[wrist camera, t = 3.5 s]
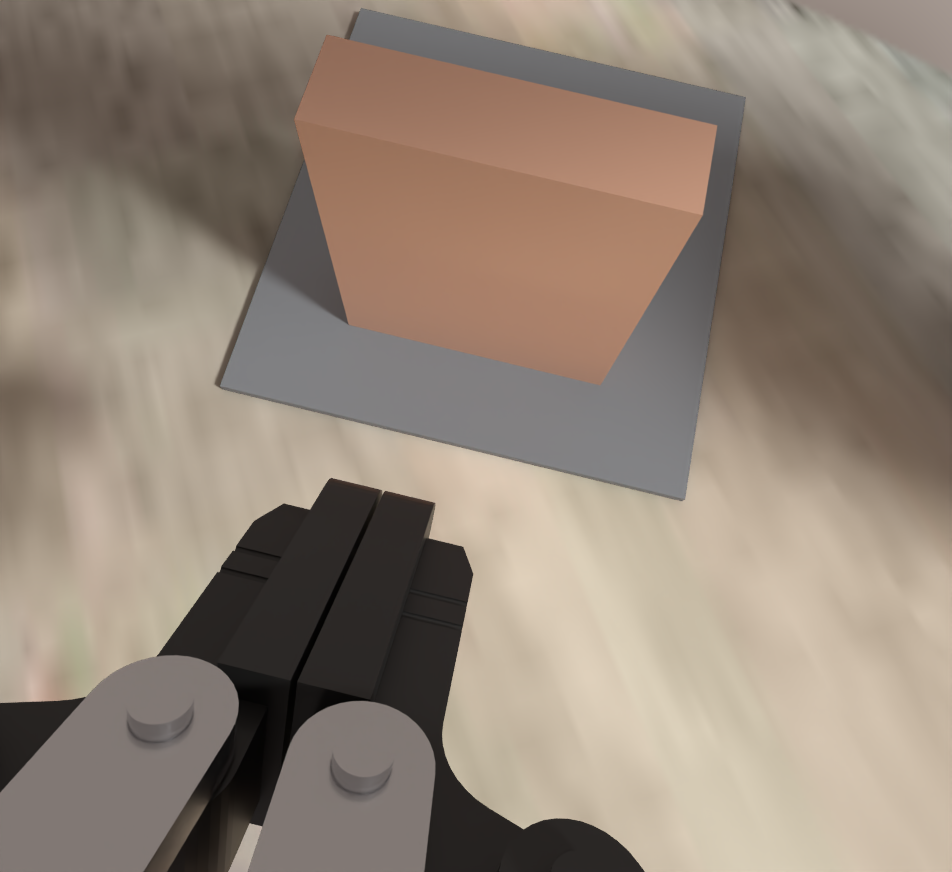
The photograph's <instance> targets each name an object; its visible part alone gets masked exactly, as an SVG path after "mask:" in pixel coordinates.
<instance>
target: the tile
mask: <svg viewBox="0 0 952 872" xmlns="http://www.w3.org/2000/svg"><path fill="white" fill-rule="evenodd" d="M294 121H295V125H296V128H297V132H298V136H299V140H300V143H301V147H302V151H303V155H304V158H305V162H306V166H307V170H308V173H309V177H310V181H311V185H312V188H313V192H314V196H315V200H316V203H317V207H318V211H319V215H320V219H321V222H322V226H323V230H324V234H325V237H326V241H327V245H328V249H329V252H330V256H331V260H332V264H333V267H334V271H335V275H336V279H337V282H338V286H339V290H340V294H341V298H342V301H343V305H344V309H345V313H346V316H347V320H348V324H349V325H351V326H356V327H360V328H364V329H368V330H372V331H376V332H380V333H385V334H389V335H393V336H397V337H401V338H405V339H410V340H414V341H418V342H422V343H426V344H430V345H434V346H439V347H443V348H447V349H451V350H455V351H459V352H464V353H468V354H472V355H476V356H480V357H484V358H488V359H493V360H497V361H501V362H505V363H509V364H513V365H517V366H522V367H526V368H530V369H534V370H538V371H542V372H547V373H551V374H555V375H559V376H563V377H567V378H571V379H576V380H580V381H584V382H588V383H592V384H596V385H601V383H602V382H603V380H604V378H605V377H606V375H607V373H608V372H609V370H610V369H611V367H612V365H613V364H614V362H615V360H616V359H617V357H618V355H619V354H620V352H621V350H622V349H623V347H624V345H625V344H626V342H627V340H628V339H629V337H630V335H631V334H632V332H633V330H634V329H635V327H636V325H637V324H638V322H639V320H640V319H641V317H642V315H643V314H644V312H645V310H646V309H647V307H648V305H649V304H650V302H651V300H652V299H653V297H654V295H655V294H656V292H657V290H658V289H659V287H660V285H661V284H662V282H663V280H664V279H665V277H666V275H667V274H668V272H669V270H670V269H671V267H672V265H673V264H674V262H675V261H676V259H677V257H678V256H679V254H680V252H681V251H682V249H683V247H684V246H685V244H686V242H687V241H688V239H689V237H690V236H691V234H692V232H693V231H694V229H695V227H696V226H697V224H698V222H699V221H700V219H701V217H702V216H703V211H704V204H705V198H706V192H707V186H708V180H709V174H710V168H711V162H712V156H713V150H714V143H715V137H716V131H717V125H713V124H709V123H705V122H700V121H696V120H692V119H687V118H683V117H679V116H675V115H670V114H666V113H662V112H657V111H653V110H649V109H644V108H640V107H636V106H632V105H627V104H623V103H619V102H614V101H610V100H606V99H601V98H597V97H593V96H589V95H584V94H580V93H576V92H571V91H567V90H563V89H558V88H554V87H550V86H546V85H541V84H537V83H533V82H528V81H524V80H520V79H515V78H511V77H507V76H503V75H498V74H494V73H490V72H485V71H481V70H477V69H472V68H468V67H464V66H460V65H455V64H451V63H447V62H442V61H438V60H434V59H429V58H425V57H421V56H417V55H412V54H408V53H404V52H399V51H395V50H391V49H386V48H382V47H378V46H374V45H369V44H365V43H361V42H356V41H352V40H348V39H343V38H339V37H335V36H331V35H326V38H325V41H324V43H323V46H322V48H321V51H320V53H319V56H318V59H317V61H316V64H315V66H314V69H313V72H312V74H311V77H310V79H309V82H308V84H307V87H306V90H305V92H304V95H303V97H302V100H301V102H300V105H299V108H298V110H297V113H296V115H295V118H294Z"/></svg>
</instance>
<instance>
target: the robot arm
mask: <svg viewBox="0 0 952 872" xmlns="http://www.w3.org/2000/svg"><path fill="white" fill-rule="evenodd" d="M434 510H435V503H433V502H429V501H425V500H421V499H417V498H413V497H408V496H404V495H400V494H396V493H392V492H388V491H385V492H384V493H383V495H382V490H379V489H374V488H370V487H366V486H362V485H358V484H354V483H350V482H346V481H341V480H337V479H333V478H331V479H329V480H328V482H327V483H326V485H325V486H324V488H323V490H322V491H321V493H320V494H319V496H318V498H317V499H316V501H315V503H314V504H313V506H312V508H311V509H310V510H308V509H304V508H300V507H296V506H292V505H287V504H282V505H281V506H279V507H277V508H276V509H274V510H272V511H270V512H269V513H267V514H265V515H264V516H262V517H260V518H259V519H257V520H255V521H254V522H253V523H252V525H251V526H250V527H249V529H248V530H247V532H246V533H245V534H244V536H243V537H242V539H241V540H240V541H239V543H238V544H237V546H236V549H235V551H232V553H231V554H230V555H229V557H228V558H227V560H226V561H225V562H224V564H223V565H222V566H221V570H220V572H217V573H216V575H215V576H214V578H213V579H212V580H211V582H210V583H209V585H208V586H207V587H206V589H205V590H204V592H203V593H202V594H201V596H200V597H199V599H198V600H197V601H196V603H195V604H194V605H193V607H192V608H191V610H190V611H189V612H188V614H187V615H186V617H185V618H184V619H183V621H182V622H181V624H180V625H179V626H178V628H177V629H176V631H175V632H174V633H173V635H172V636H171V637H170V639H169V640H168V642H167V643H166V644H165V646H164V647H163V649H162V650H161V651H160V653H159V654H158V655H157V657H152V658H148V659H144V660H140V661H137V662H134V663H132V664H129V665H127V666H125V667H123V668H121V669H119V670H117V671H115V672H114V673H112V674H111V675H109V676H108V677H107V678H105V679H104V680H102V681H101V682H100V683H99V684H98V685H97V686H96V687H95V688H94V689H93V690H92V691H91V692H90V693H89V695H88V696H87V697H83V698H78V699H73V700H63V701H45V702H17V703H0V872H228V871H229V869H230V867H231V864H232V862H233V860H234V858H235V855H236V853H237V851H238V848H239V846H240V844H241V841H242V839H243V837H244V834H245V832H246V830H247V828H248V825H249V823H251V824H255V825H259V826H263V827H262V830H261V833H260V836H259V839H258V842H257V845H256V848H255V851H254V854H253V857H252V860H251V863H250V866H249V869H248V872H644V870H643V869H642V867H641V866H640V865H639V863H638V862H637V861H636V860H635V858H634V857H633V856H632V855H631V854H630V852H629V851H628V850H627V849H626V848H624V847H623V846H622V845H621V844H620V843H619V842H618V841H617V840H615V839H614V838H613V837H611V836H610V835H609V834H607V833H606V832H604V831H602V830H600V829H598V828H596V827H594V826H592V825H589V824H587V823H584V822H581V821H576V820H571V819H549V820H543V821H540V822H538V823H535V824H532V825H531V826H529V827H527V828H526V829H524V830H523V829H522V828H520V827H519V826H517V825H515V824H514V823H512V822H510V821H509V820H507V819H505V818H504V817H502V816H501V815H499V814H497V813H496V812H494V811H492V810H491V809H489V808H488V807H486V806H485V805H483V804H482V803H481V802H479V801H478V800H476V799H475V798H474V797H473V796H472V795H471V794H470V793H469V792H468V791H467V790H466V789H465V788H464V787H463V786H462V785H461V783H460V782H459V781H458V780H457V778H456V777H455V775H454V773H453V772H452V770H451V768H450V766H449V764H448V761H447V759H446V757H445V752H444V748H443V742H442V729H443V721H444V716H445V711H446V706H447V701H448V696H449V692H450V687H451V682H452V677H453V672H454V667H455V662H456V657H457V652H458V647H459V642H460V637H461V632H462V627H463V622H464V617H465V612H466V607H467V602H468V597H469V592H470V588H471V583H472V578H473V572H472V570H471V567H470V564H469V561H468V559H467V556H466V553H465V551H464V548H463V547H461V546H457V545H453V544H449V543H445V542H441V541H437V540H433V539H429V534H430V530H431V525H432V520H433V515H434Z"/></svg>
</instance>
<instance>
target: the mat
mask: <svg viewBox="0 0 952 872" xmlns="http://www.w3.org/2000/svg"><path fill="white" fill-rule="evenodd" d="M349 40H352V41H356V42H361V43H365V44H369V45H374V46H378V47H382V48H386V49H391V50H395V51H399V52H404V53H408V54H412V55H417V56H421V57H425V58H429V59H434V60H438V61H442V62H447V63H451V64H455V65H460V66H464V67H468V68H472V69H477V70H481V71H485V72H490V73H494V74H498V75H503V76H507V77H511V78H515V79H520V80H524V81H528V82H533V83H537V84H541V85H546V86H550V87H554V88H558V89H563V90H567V91H571V92H576V93H580V94H584V95H589V96H593V97H597V98H601V99H606V100H610V101H614V102H619V103H623V104H627V105H632V106H636V107H640V108H644V109H649V110H653V111H657V112H662V113H666V114H670V115H675V116H679V117H683V118H687V119H692V120H696V121H700V122H705V123H709V124H713V125H717V131H716V137H715V143H714V150H713V156H712V162H711V168H710V174H709V180H708V186H707V192H706V198H705V204H704V211H703V216H702V217H701V219H700V221H699V222H698V224H697V226H696V227H695V229H694V231H693V232H692V234H691V236H690V237H689V239H688V241H687V242H686V244H685V246H684V247H683V249H682V251H681V252H680V254H679V256H678V257H677V259H676V261H675V262H674V264H673V265H672V267H671V269H670V270H669V272H668V274H667V275H666V277H665V279H664V280H663V282H662V284H661V285H660V287H659V289H658V290H657V292H656V294H655V295H654V297H653V299H652V300H651V302H650V304H649V305H648V307H647V309H646V310H645V312H644V314H643V315H642V317H641V319H640V320H639V322H638V324H637V325H636V327H635V329H634V330H633V332H632V334H631V335H630V337H629V339H628V340H627V342H626V344H625V345H624V347H623V349H622V350H621V352H620V354H619V355H618V357H617V359H616V360H615V362H614V364H613V365H612V367H611V369H610V370H609V372H608V373H607V375H606V377H605V378H604V380H603V382H602V383H601V385H596V384H592V383H588V382H584V381H580V380H576V379H571V378H567V377H563V376H559V375H555V374H551V373H547V372H542V371H538V370H534V369H530V368H526V367H522V366H517V365H513V364H509V363H505V362H501V361H497V360H493V359H488V358H484V357H480V356H476V355H472V354H468V353H464V352H459V351H455V350H451V349H447V348H443V347H439V346H434V345H430V344H426V343H422V342H418V341H414V340H410V339H405V338H401V337H397V336H393V335H389V334H385V333H380V332H376V331H372V330H368V329H364V328H360V327H356V326H351V325H349V324H348V320H347V316H346V313H345V309H344V305H343V301H342V298H341V294H340V290H339V286H338V282H337V279H336V275H335V271H334V267H333V264H332V260H331V256H330V252H329V249H328V245H327V241H326V237H325V234H324V230H323V226H322V222H321V219H320V215H319V211H318V207H317V203H316V200H315V196H314V192H313V188H312V185H311V181H310V177H309V173H308V170H307V166H306V162H305V159H304V162H303V165H302V167H301V170H300V173H299V176H298V178H297V181H296V184H295V186H294V189H293V192H292V194H291V197H290V200H289V202H288V205H287V208H286V210H285V213H284V216H283V218H282V221H281V224H280V226H279V229H278V232H277V234H276V237H275V240H274V242H273V245H272V248H271V250H270V253H269V256H268V258H267V261H266V264H265V266H264V269H263V272H262V275H261V277H260V280H259V283H258V285H257V288H256V291H255V293H254V296H253V299H252V301H251V304H250V307H249V309H248V312H247V315H246V317H245V320H244V323H243V325H242V328H241V331H240V333H239V336H238V339H237V341H236V344H235V347H234V349H233V352H232V355H231V357H230V360H229V363H228V365H227V368H226V371H225V373H224V376H223V379H222V382H221V384H220V387H221V388H222V389H224V390H228V391H232V392H236V393H240V394H244V395H248V396H252V397H256V398H261V399H265V400H269V401H273V402H277V403H281V404H285V405H289V406H293V407H298V408H302V409H306V410H310V411H314V412H318V413H322V414H326V415H330V416H335V417H339V418H343V419H347V420H351V421H355V422H359V423H363V424H367V425H371V426H376V427H380V428H384V429H388V430H392V431H396V432H400V433H404V434H408V435H413V436H417V437H421V438H425V439H429V440H433V441H437V442H441V443H445V444H449V445H454V446H458V447H462V448H466V449H470V450H474V451H478V452H482V453H486V454H491V455H495V456H499V457H503V458H507V459H511V460H515V461H519V462H523V463H528V464H532V465H536V466H540V467H544V468H548V469H552V470H556V471H560V472H564V473H569V474H573V475H577V476H581V477H585V478H589V479H593V480H597V481H601V482H606V483H610V484H614V485H618V486H622V487H626V488H630V489H634V490H638V491H642V492H647V493H651V494H655V495H659V496H663V497H667V498H671V499H675V500H679V501H683V500H685V496H686V489H687V483H688V476H689V469H690V463H691V456H692V450H693V443H694V436H695V430H696V423H697V416H698V410H699V403H700V397H701V390H702V383H703V377H704V370H705V363H706V357H707V350H708V344H709V337H710V330H711V324H712V317H713V311H714V304H715V297H716V291H717V284H718V277H719V271H720V264H721V258H722V251H723V244H724V238H725V231H726V225H727V218H728V211H729V205H730V198H731V191H732V185H733V178H734V172H735V165H736V158H737V152H738V145H739V138H740V132H741V125H742V119H743V112H744V105H745V99H746V97H743V96H738V95H734V94H730V93H725V92H721V91H717V90H712V89H708V88H704V87H699V86H695V85H691V84H686V83H682V82H678V81H673V80H669V79H665V78H660V77H656V76H652V75H647V74H643V73H639V72H635V71H630V70H626V69H622V68H617V67H613V66H609V65H604V64H600V63H596V62H591V61H587V60H583V59H578V58H574V57H570V56H565V55H561V54H557V53H552V52H548V51H544V50H540V49H535V48H531V47H527V46H522V45H518V44H514V43H509V42H505V41H501V40H496V39H492V38H488V37H483V36H479V35H475V34H470V33H466V32H462V31H457V30H453V29H449V28H445V27H440V26H436V25H432V24H427V23H423V22H419V21H414V20H410V19H406V18H401V17H397V16H393V15H388V14H384V13H380V12H375V11H371V10H367V9H362V8H361V10H360V12H359V15H358V18H357V20H356V23H355V26H354V28H353V31H352V34H351V36H350V39H349Z"/></svg>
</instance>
